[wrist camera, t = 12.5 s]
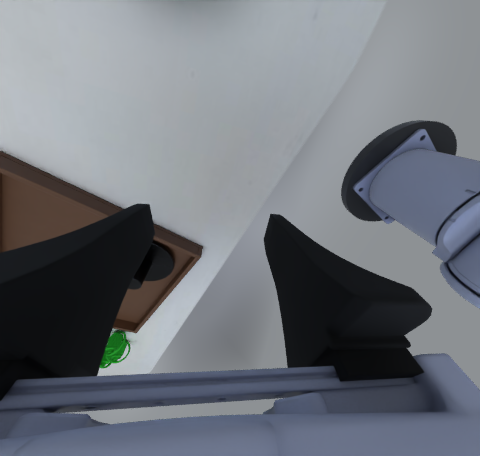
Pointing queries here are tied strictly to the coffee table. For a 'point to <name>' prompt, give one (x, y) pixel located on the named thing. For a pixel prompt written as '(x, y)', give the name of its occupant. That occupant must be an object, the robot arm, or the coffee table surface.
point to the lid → (153, 266)
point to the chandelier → (114, 349)
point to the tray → (75, 217)
